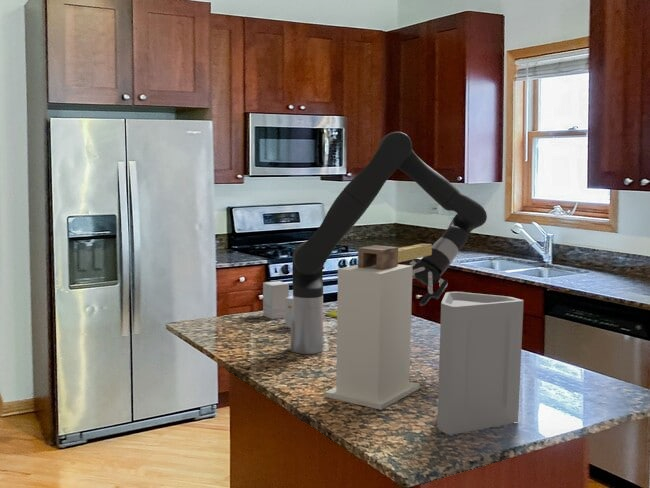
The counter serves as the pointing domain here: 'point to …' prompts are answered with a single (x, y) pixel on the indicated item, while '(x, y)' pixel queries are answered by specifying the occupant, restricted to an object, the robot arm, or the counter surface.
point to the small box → (288, 311)
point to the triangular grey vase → (479, 361)
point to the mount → (374, 330)
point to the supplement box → (274, 299)
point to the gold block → (414, 252)
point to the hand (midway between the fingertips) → (408, 296)
